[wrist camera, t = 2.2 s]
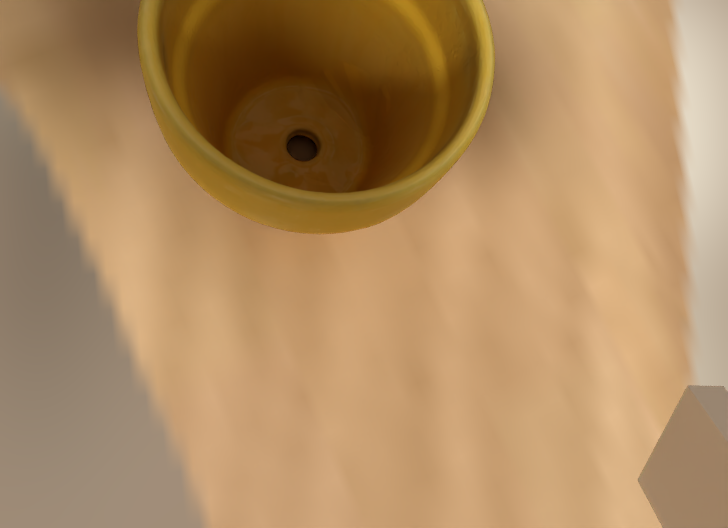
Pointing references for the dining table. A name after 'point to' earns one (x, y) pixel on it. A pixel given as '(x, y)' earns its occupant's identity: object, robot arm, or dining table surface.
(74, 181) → the dining table surface
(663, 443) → the robot arm
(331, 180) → the plant pot
